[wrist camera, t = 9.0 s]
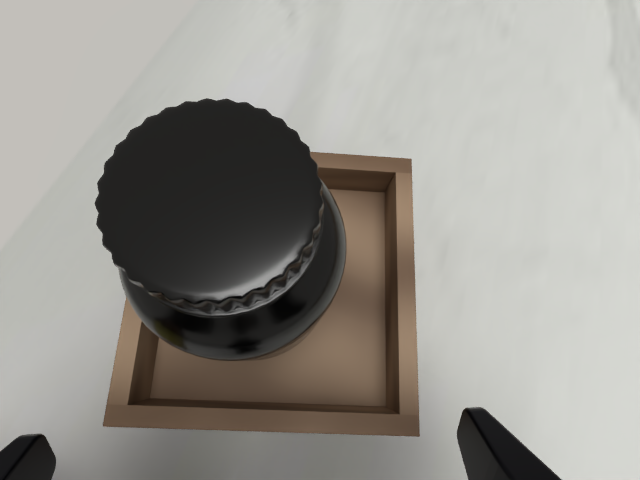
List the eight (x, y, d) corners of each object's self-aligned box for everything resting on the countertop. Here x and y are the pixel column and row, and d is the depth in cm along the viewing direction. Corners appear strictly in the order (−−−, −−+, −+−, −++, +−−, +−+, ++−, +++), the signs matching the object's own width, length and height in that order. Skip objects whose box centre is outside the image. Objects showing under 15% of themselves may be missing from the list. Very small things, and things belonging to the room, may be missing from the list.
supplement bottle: (331, 353, 19) (390, 354, 7) (188, 365, 18) (10, 387, 7) (320, 220, 21) (352, 56, 9) (189, 228, 20) (52, 62, 9)
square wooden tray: (388, 415, 21) (419, 436, 16) (152, 407, 20) (102, 426, 15) (386, 200, 25) (411, 158, 19) (185, 187, 24) (154, 141, 19)
